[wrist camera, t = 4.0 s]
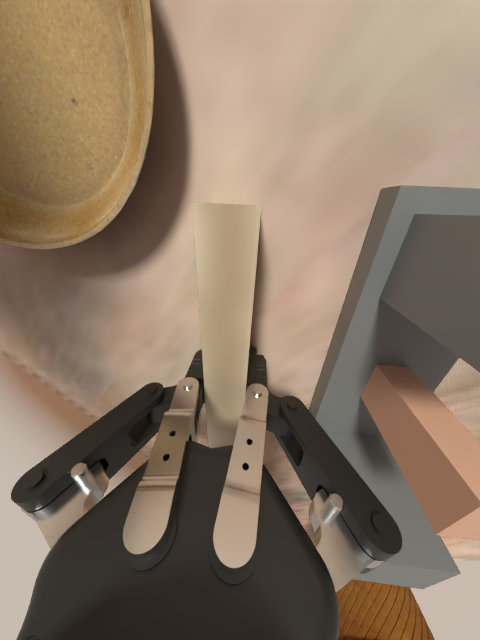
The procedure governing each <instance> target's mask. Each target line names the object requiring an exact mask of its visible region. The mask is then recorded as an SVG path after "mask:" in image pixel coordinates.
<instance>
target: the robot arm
mask: <svg viewBox="0 0 480 640" xmlns="http://www.w3.org/2000/svg"><path fill="white" fill-rule="evenodd" d="M203 403H205V391H204V375H203V359H202V350H199V351H198V352H197V353H196V354H195V356H194V358H193V360H192V363H191V365H190V367H189V370H188V372H187V374H186V376H185V378H184V379H182V380H180V381H179V382H178V384H177V385H175V386H172V387H166V388H163V385H162V384H160V383H156V382H155V383H150V384H147V385H145V386H144V387H143V388H141V389H140V390H138V391H137V392H136V393H134V394H133V395H132V396H130V397H129V398H128V399H126V400H125V401H123V402H122V403H121V404H119V405H118V406H117V407H115V408H114V409H112V410H111V411H110V412H108V413H107V414H106V415H104V416H103V417H101V418H100V419H99V420H97V421H96V422H95V423H93V424H92V425H91V426H89V427H88V428H86V429H85V430H84V431H82V432H81V433H80V434H78V435H77V436H75V437H74V438H73V439H71V440H70V441H69V442H67V443H66V444H64V445H63V446H62V447H61V448H59V449H58V450H56V451H55V452H54V453H52V454H51V455H49V456H48V457H47V458H45V459H44V460H43V461H41V462H40V463H39V464H37V465H36V466H35V467H33V468H32V469H30V470H29V471H28V472H26V473H25V474H24V475H23V476H22V477H21V478H20V479H19V480H18V482H17V483H16V484H15V486H14V488H13V490H12V493H11V499H12V500H13V501H14V502H15V503H16V504H17V505H18V506H20V507H21V509H22V511H23V512H24V513H26V514H27V515H28V516H29V517H31V518H32V519H33V520H35V521H36V522H37V524H38V526H39V528H40V529H41V531H42V533H43V535H44V537H45V539H46V540H47V543H48V544H49V546H50V548H51V550H50V552H49V553H48V555H47V557H46V559H45V560H44V562H43V564H42V567H41V569H40V571H39V574H38V576H37V579H36V582H35V586H34V590H33V594H32V597H31V602H30V605H29V608H28V611H27V614H26V617H25V620H24V622H23V625H22V628H21V630H20V633H19V635H18V637H17V640H338V637H339V607H338V600H337V595H336V592H338V591H339V590H340V589H341V588H342V587H343V586H345V585H346V584H347V583H348V582H349V581H351V580H352V579H353V578H354V577H355V576H357V575H358V574H359V573H361V574H367V573H369V572H370V571H372V570H373V569H375V568H376V567H378V566H379V565H381V564H382V563H384V562H385V561H387V560H388V559H390V558H391V557H393V556H394V555H396V554H397V553H398V552H399V551H400V550H401V548H402V536H401V532H400V529H399V527H398V525H397V523H396V522H395V520H394V519H393V517H392V516H391V515H390V514H389V512H388V511H387V510H386V508H385V507H384V506H383V505H382V503H381V502H380V501H379V500H378V498H377V497H376V496H375V494H374V493H373V492H372V491H371V489H370V488H369V487H368V486H367V484H366V483H365V482H364V480H363V479H362V478H361V477H360V475H359V474H358V473H357V472H356V470H355V469H354V468H353V466H352V465H351V464H350V463H349V461H348V460H347V459H346V458H345V456H344V455H343V454H342V452H341V451H340V450H339V449H338V447H337V446H336V445H335V444H334V442H333V441H332V440H331V438H330V437H329V436H328V435H327V433H326V432H325V431H324V430H323V428H322V427H321V426H320V424H319V423H318V422H317V421H316V419H315V418H314V417H313V416H312V414H311V413H310V412H309V410H308V409H307V408H306V407H305V405H304V404H303V403H302V402H301V401H300V400H299V399H298V398H296V397H294V396H286V397H284V398H283V399H281V398H279V397H276V396H274V395H273V394H271V393H270V392H269V390H268V388H267V376H266V360H265V358H264V356H263V355H256V348H252V347H249V358H248V370H247V382H246V394H245V400H244V405H243V409H242V414H241V416H240V419H239V423H238V427H237V432H236V436H235V441H234V445H228V446H222V447H216V448H209V447H207V446H204V445H202V444H199V443H197V436H198V430H199V423H200V416H201V408H202V405H203ZM266 430H268V431H271V432H273V433H275V436H276V438H277V439H278V441H279V443H280V445H281V447H282V448H283V450H284V452H285V454H286V456H287V457H288V459H289V461H290V463H291V464H292V466H293V468H294V470H295V472H296V473H297V475H298V477H299V479H300V481H301V482H302V484H303V486H304V488H305V490H306V491H307V493H308V495H309V497H310V499H311V500H312V503H311V504H310V507H309V518H310V521H311V524H312V526H313V529H314V533H315V546H314V544H313V542H312V541H311V539H310V538H309V536H308V534H307V533H306V531H305V530H304V528H303V526H302V525H301V523H300V522H299V520H298V518H297V517H296V515H295V514H294V512H293V510H292V509H291V507H290V505H289V504H288V502H287V501H286V499H285V497H284V496H283V494H282V493H281V491H280V489H279V488H278V486H277V485H276V483H275V481H274V480H273V478H272V477H271V475H270V473H269V472H268V470H267V469H266V467H265V466H264V465H263V455H264V444H265V433H266ZM157 432H158V434H157V437H156V440H155V443H154V446H153V449H152V452H151V455H150V458H149V460H147V461H146V462H145V463H144V464H143V465H142V466H140V467H139V468H138V469H137V470H136V471H134V472H133V473H132V474H131V475H130V476H129V477H128V478H126V479H125V480H124V481H123V482H122V483H120V485H118V486H117V487H116V488H115V489H114V490H112V491H111V492H110V493H109V494H108V495H106V496H105V497H104V498H103V496H104V493H105V492H106V490H107V488H108V485H109V480H110V479H111V477H112V476H114V475H115V474H116V473H117V472H118V471H119V470H120V469H121V468H122V467H123V466H124V465H125V464H126V463H127V462H128V461H129V460H130V459H131V458H132V457H133V456H134V455H135V454H136V453H137V452H138V451H139V450H140V449H141V448H142V447H143V446H144V445H145V444H146V443H147V442H148V441H149V440H150V439H151V438H152V437H153V436H154V435H155V434H156V433H157ZM102 498H103V499H102ZM101 499H102V500H101ZM100 500H101V501H100Z"/></svg>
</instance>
